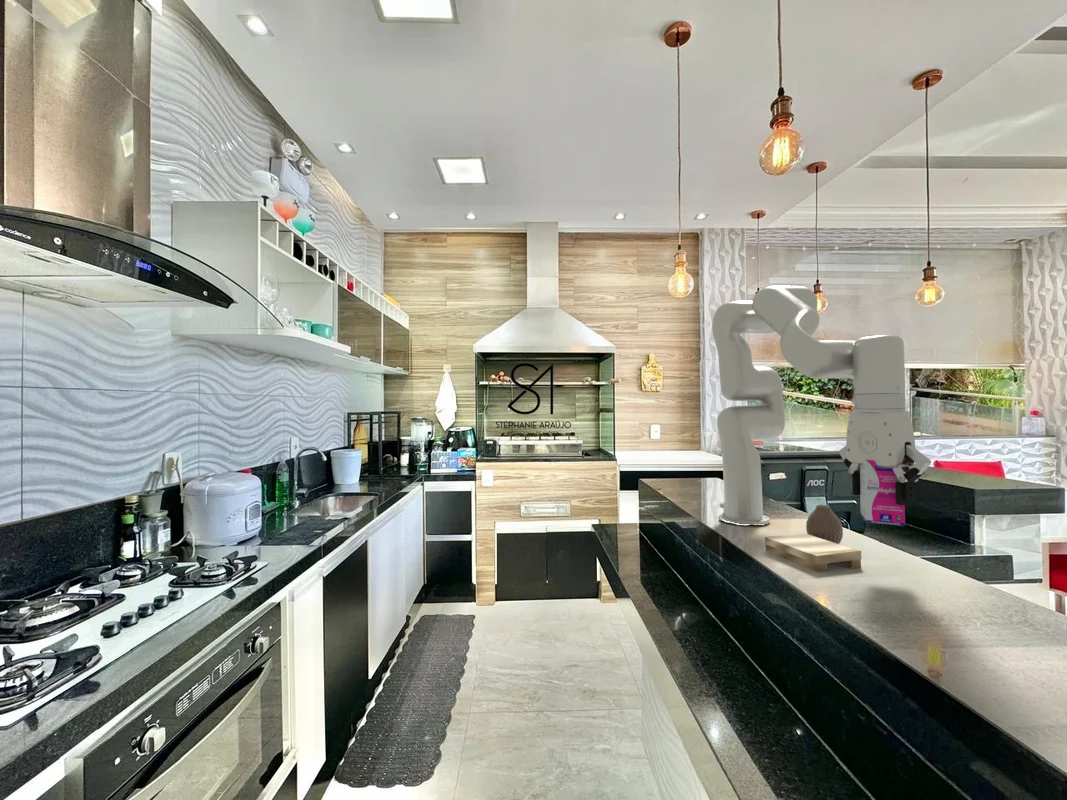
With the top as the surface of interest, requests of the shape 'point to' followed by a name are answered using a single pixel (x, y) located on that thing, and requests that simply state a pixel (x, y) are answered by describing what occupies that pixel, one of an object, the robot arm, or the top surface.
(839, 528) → the vase
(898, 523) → the supplement box
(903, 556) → the top surface
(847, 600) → the top surface
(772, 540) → the platform
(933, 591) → the top surface
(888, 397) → the robot arm
